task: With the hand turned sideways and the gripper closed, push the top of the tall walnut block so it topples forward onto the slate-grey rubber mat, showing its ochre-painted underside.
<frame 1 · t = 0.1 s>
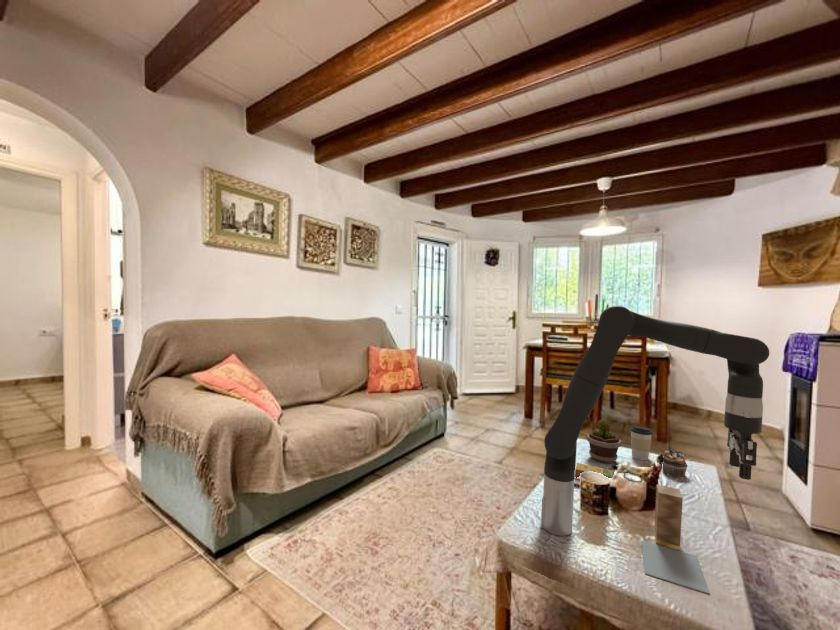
hand: (739, 472, 98), 29 cm above the table, tool pointing down, fingers open, 8 cm apart
coffee cup: (640, 457, 179), on the table
slate mat: (672, 565, 104), on the table
cupcake: (673, 474, 162), on the table
walnut block: (666, 541, 114), on the table
flowerpot: (602, 459, 175), on the table
carton: (596, 480, 155), on the table
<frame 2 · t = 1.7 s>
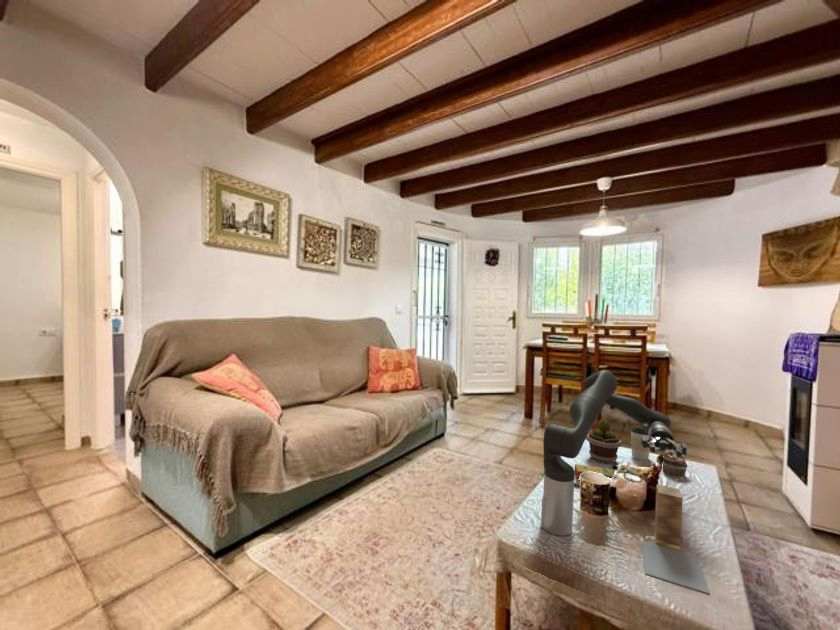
hand: (666, 452, 124), 24 cm above the table, tool horizontal, fingers open, 6 cm apart
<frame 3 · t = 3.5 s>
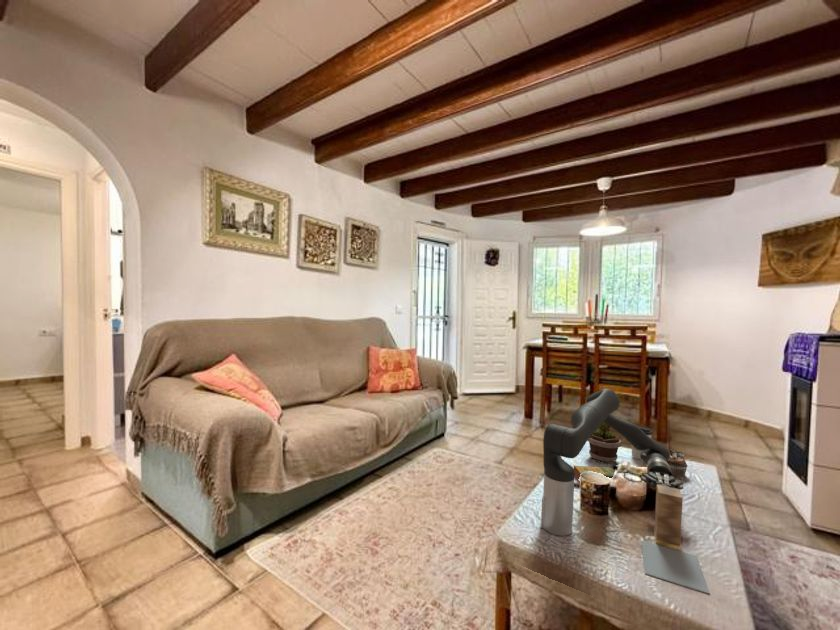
hand: (665, 491, 121), 12 cm above the table, tool horizontal, fingers closed
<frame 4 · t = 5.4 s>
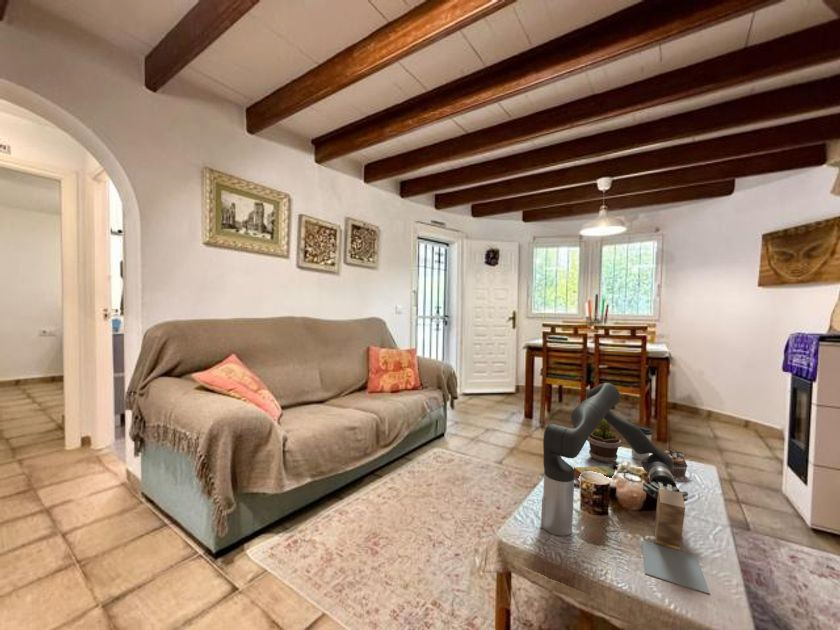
hand: (668, 503, 114), 12 cm above the table, tool horizontal, fingers closed
walnut block: (666, 538, 114), point 1 cm above the table, tilted 17°
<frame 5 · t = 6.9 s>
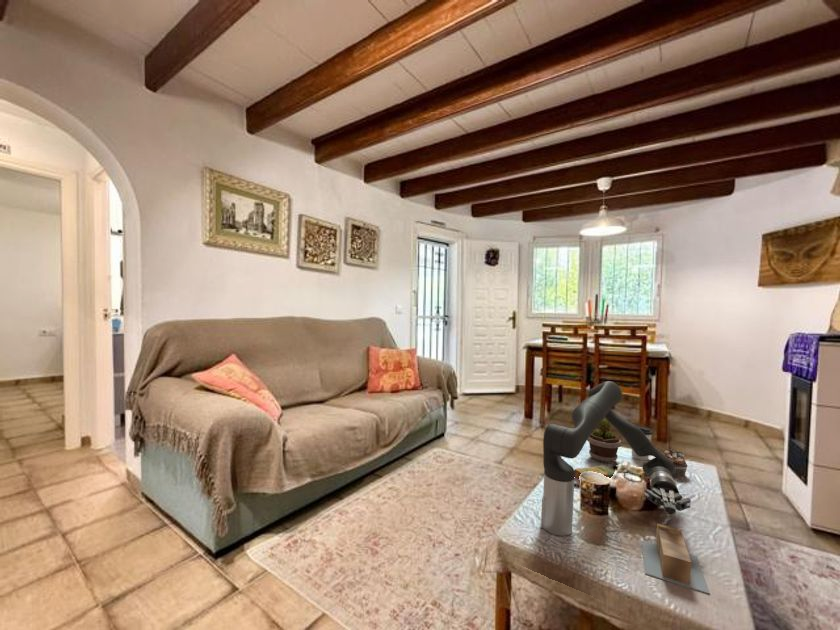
hand: (670, 511, 109), 12 cm above the table, tool horizontal, fingers closed
walnut block: (668, 536, 111), point 3 cm above the table, tilted 90°, touching slate mat
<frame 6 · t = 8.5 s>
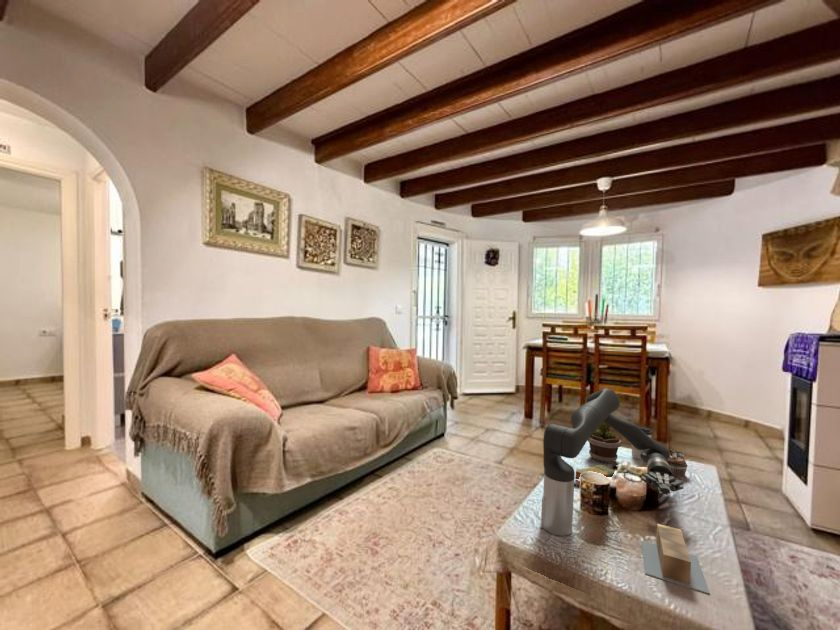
hand: (665, 491, 121), 12 cm above the table, tool horizontal, fingers closed
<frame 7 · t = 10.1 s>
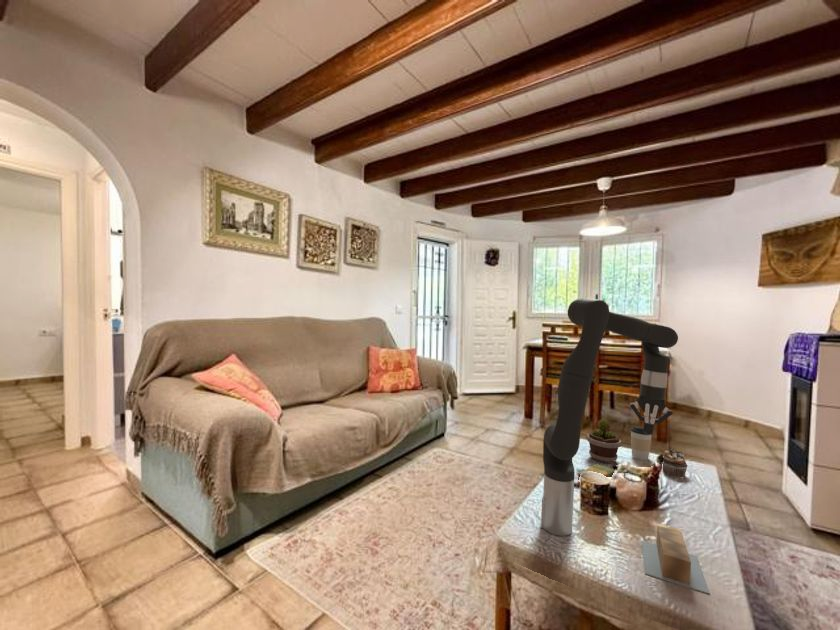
hand: (647, 433, 127), 29 cm above the table, tool pointing down, fingers closed
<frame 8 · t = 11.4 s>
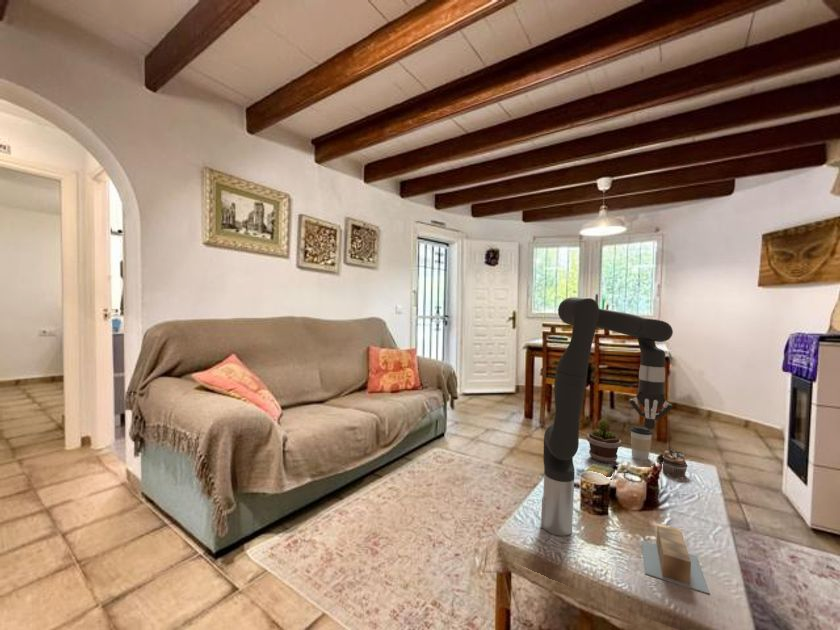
hand: (649, 428, 126), 31 cm above the table, tool pointing down, fingers closed
at the end: walnut block tilted 90°; walnut block touching slate mat; walnut block inside the target area (7.0 cm from its centre), point 3.3 cm above the table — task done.
